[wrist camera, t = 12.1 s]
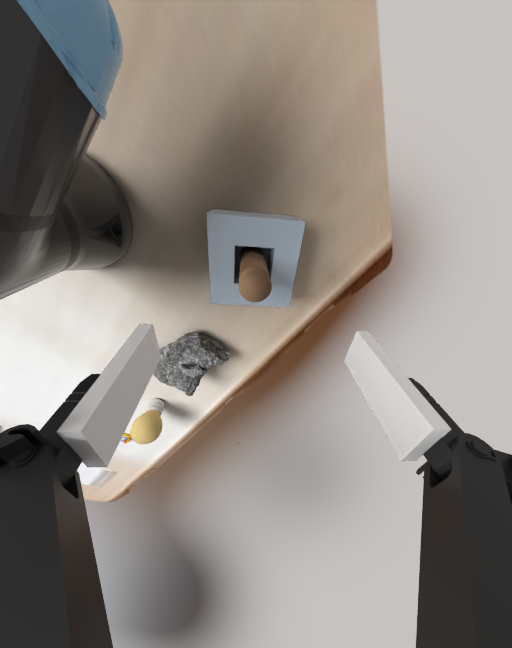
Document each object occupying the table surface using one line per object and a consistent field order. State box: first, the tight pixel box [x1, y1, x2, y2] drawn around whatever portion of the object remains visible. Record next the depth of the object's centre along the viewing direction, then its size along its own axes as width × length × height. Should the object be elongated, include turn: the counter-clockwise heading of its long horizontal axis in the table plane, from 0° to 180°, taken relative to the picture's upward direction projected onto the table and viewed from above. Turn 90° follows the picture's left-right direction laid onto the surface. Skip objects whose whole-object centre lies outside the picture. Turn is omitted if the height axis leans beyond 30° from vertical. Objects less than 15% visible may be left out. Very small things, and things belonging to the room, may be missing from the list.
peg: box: [239, 246, 272, 302], centre depth 27 cm, size 4×4×12 cm
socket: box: [206, 209, 306, 308], centre depth 30 cm, size 12×12×6 cm
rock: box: [153, 332, 230, 396], centre depth 41 cm, size 13×13×10 cm
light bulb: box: [130, 399, 165, 444], centre depth 48 cm, size 6×6×10 cm
